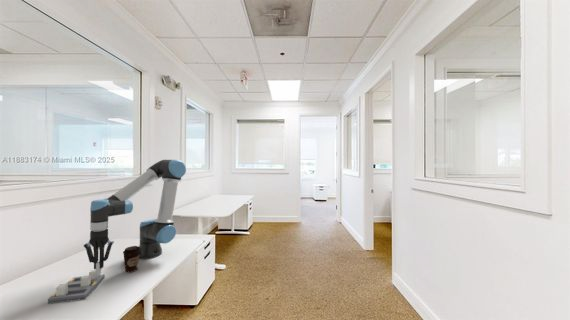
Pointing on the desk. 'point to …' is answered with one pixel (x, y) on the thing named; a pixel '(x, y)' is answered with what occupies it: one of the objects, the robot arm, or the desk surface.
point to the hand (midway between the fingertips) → (98, 274)
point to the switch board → (77, 290)
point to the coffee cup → (131, 258)
